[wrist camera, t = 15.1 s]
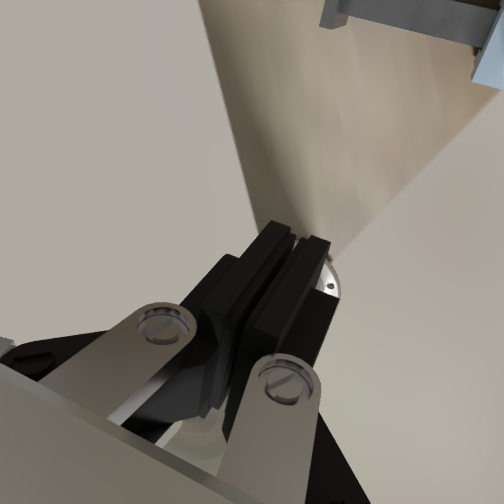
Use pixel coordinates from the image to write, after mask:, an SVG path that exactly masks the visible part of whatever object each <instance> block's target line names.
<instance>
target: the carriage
mask: <svg viewBox="0 0 504 504" xmlns="http://www.w3.org/2000/svg"><path fill="white" fill-rule="evenodd" d="M499 6H501V8H500V10H499V13H498V15H497V17H496V20H495V22H494V24H493V26H492V29H491V31H490V33H489V35H488V38H487V40H486V42H485V44H484V47H483V49H479V51H478V54H477V56H476V58H475V60H474V69H473V72H472V74H471V82H475V83H479V84H483V85H486V86H490V87H494V88H498V89H501V90H504V0H501V1H500V3H499Z"/></svg>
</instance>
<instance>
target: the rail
mask: <svg viewBox="0 0 504 504" xmlns="http://www.w3.org/2000/svg"><path fill="white" fill-rule="evenodd" d="M498 13H499V10H496V9H492V8H488V7H483V6H479V5H474V4H470V3H465V2H461V1H456V0H325V4H324V8H323V12H322V16H321V20H320V25H319V27H323V28H327V29H331V30H332V29H335V28H338V27H341V26H344V25H346V23H347V19H348V15H349V16H353V17H357V18H361V19H365V20H369V21H374V22H378V23H382V24H386V25H390V26H394V27H398V28H402V29H406V30H410V31H414V32H418V33H422V34H426V35H430V36H434V37H439V38H443V39H447V40H451V41H455V42H459V43H463V44H467V45H471V46H475V47H479V48H483V47H484V44H485V42H486V40H487V38H488V35H489V33H490V31H491V29H492V26H493V24H494V22H495V20H496V17H497V15H498Z"/></svg>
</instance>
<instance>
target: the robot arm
mask: <svg viewBox="0 0 504 504" xmlns="http://www.w3.org/2000/svg"><path fill="white" fill-rule="evenodd" d="M290 232H291V227H289V226H286V225H283V224H281V223H278V222H275V221H273V220H271V221H270V222H269V223H268V224H267V226H266V227H265V228H264V229H263V230H262V232H261V233H260V234H259V235H258V236H257V238H256V239H255V240H254V241H253V242H252V244H251V245H250V246H249V247H248V248H247V250H246V251H245V252H244V253H243V254H242V255H241V257H240V258H237V257H235V256H232V255H230V254H225V255H224V256H223V257H222V258H221V259H220V260H219V261H218V262H217V264H216V265H215V266H214V267H213V268H212V269H211V270H210V271H209V272H208V274H207V275H206V276H205V277H204V278H203V279H202V280H201V281H200V282H199V283H198V285H197V286H196V287H195V288H194V289H193V290H192V291H191V292H190V293H189V294H188V296H187V297H186V298H185V299H184V300H183V301H182V302H181V303H180V304H179V305H177V304H172V303H167V302H161V303H160V302H157V303H152V304H148V305H145V306H143V307H141V308H139V309H138V310H137V311H135V312H133V313H132V314H131V315H129V316H128V317H127V318H125V319H124V320H122V321H121V322H120V323H119V324H117V325H116V326H114V327H113V328H111V329H110V330H107V331H100V332H94V333H87V334H79V335H73V336H66V337H59V338H52V339H46V340H39V341H33V342H29V343H25V344H21V345H19V346H15V343H14V340H11V339H7V338H3V337H0V504H371V503H370V501H369V500H368V498H367V496H366V494H365V492H364V491H363V489H362V487H361V485H360V484H359V482H358V480H357V478H356V477H355V475H354V473H353V471H352V469H351V468H350V466H349V464H348V462H347V461H346V459H345V457H344V455H343V454H342V452H341V450H340V448H339V446H338V445H337V443H336V441H335V439H334V438H333V436H332V434H331V432H330V431H329V429H328V427H327V425H326V423H325V422H324V420H323V418H322V416H321V415H320V413H319V404H320V397H321V383H320V380H319V378H318V375H317V374H316V372H315V371H314V370H313V366H314V364H315V361H316V359H317V356H318V354H319V351H320V349H321V346H322V344H323V341H324V339H325V336H326V334H327V331H328V329H329V326H330V324H331V321H332V318H333V316H334V314H335V312H336V310H337V308H338V305H339V302H340V296H341V288H340V282H339V279H338V276H337V274H336V272H335V270H334V268H333V266H332V265H331V264H330V262H329V261H328V260H327V259H326V257H327V254H328V251H329V248H330V244H331V242H329V241H327V240H324V239H321V238H319V237H316V236H313V235H311V236H310V237H309V239H306V238H303V237H302V238H301V239H300V240H299V241H298V240H296V235H295V234H292V233H290Z"/></svg>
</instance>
